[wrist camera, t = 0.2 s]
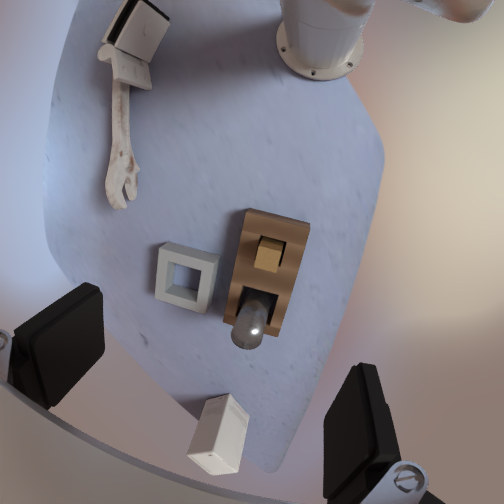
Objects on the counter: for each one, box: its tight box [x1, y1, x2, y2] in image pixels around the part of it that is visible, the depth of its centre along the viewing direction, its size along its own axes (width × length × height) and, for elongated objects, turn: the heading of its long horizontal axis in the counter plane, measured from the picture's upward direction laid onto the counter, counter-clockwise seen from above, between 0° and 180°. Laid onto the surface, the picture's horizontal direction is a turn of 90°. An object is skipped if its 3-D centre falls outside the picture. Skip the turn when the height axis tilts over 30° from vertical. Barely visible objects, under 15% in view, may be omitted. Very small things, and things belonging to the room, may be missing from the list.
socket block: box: [223, 208, 310, 337], centre depth 46 cm, size 18×9×4 cm, turn 167°
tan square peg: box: [254, 236, 284, 273], centre depth 42 cm, size 3×3×5 cm
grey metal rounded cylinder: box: [231, 288, 272, 350], centre depth 43 cm, size 4×4×12 cm
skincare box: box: [187, 394, 249, 475], centre depth 51 cm, size 8×7×16 cm
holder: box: [155, 242, 220, 314], centre depth 48 cm, size 9×9×4 cm
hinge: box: [98, 0, 171, 90], centre depth 34 cm, size 14×5×10 cm, turn 167°
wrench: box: [105, 77, 140, 210], centre depth 40 cm, size 8×2×30 cm
